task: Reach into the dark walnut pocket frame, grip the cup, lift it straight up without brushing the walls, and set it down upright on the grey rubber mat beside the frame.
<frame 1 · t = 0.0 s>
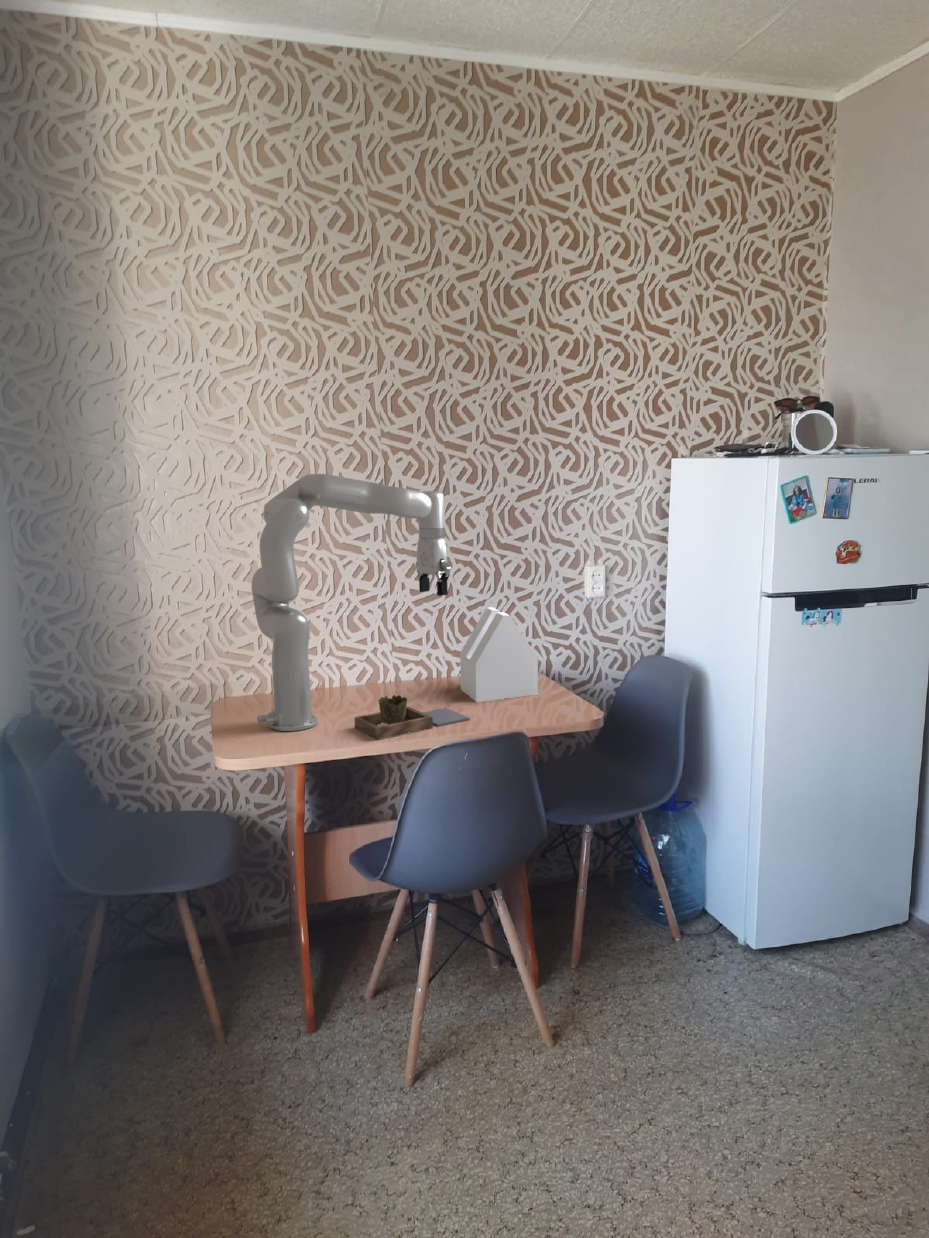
hand: (433, 593, 245), 31 cm above the table, tool pointing down, fingers open, 9 cm apart
grey slotted house block: (498, 693, 255), on the table
pocket frame: (393, 728, 222), on the table
mat: (441, 717, 230), on the table
cup: (393, 728, 222), resting in pocket frame
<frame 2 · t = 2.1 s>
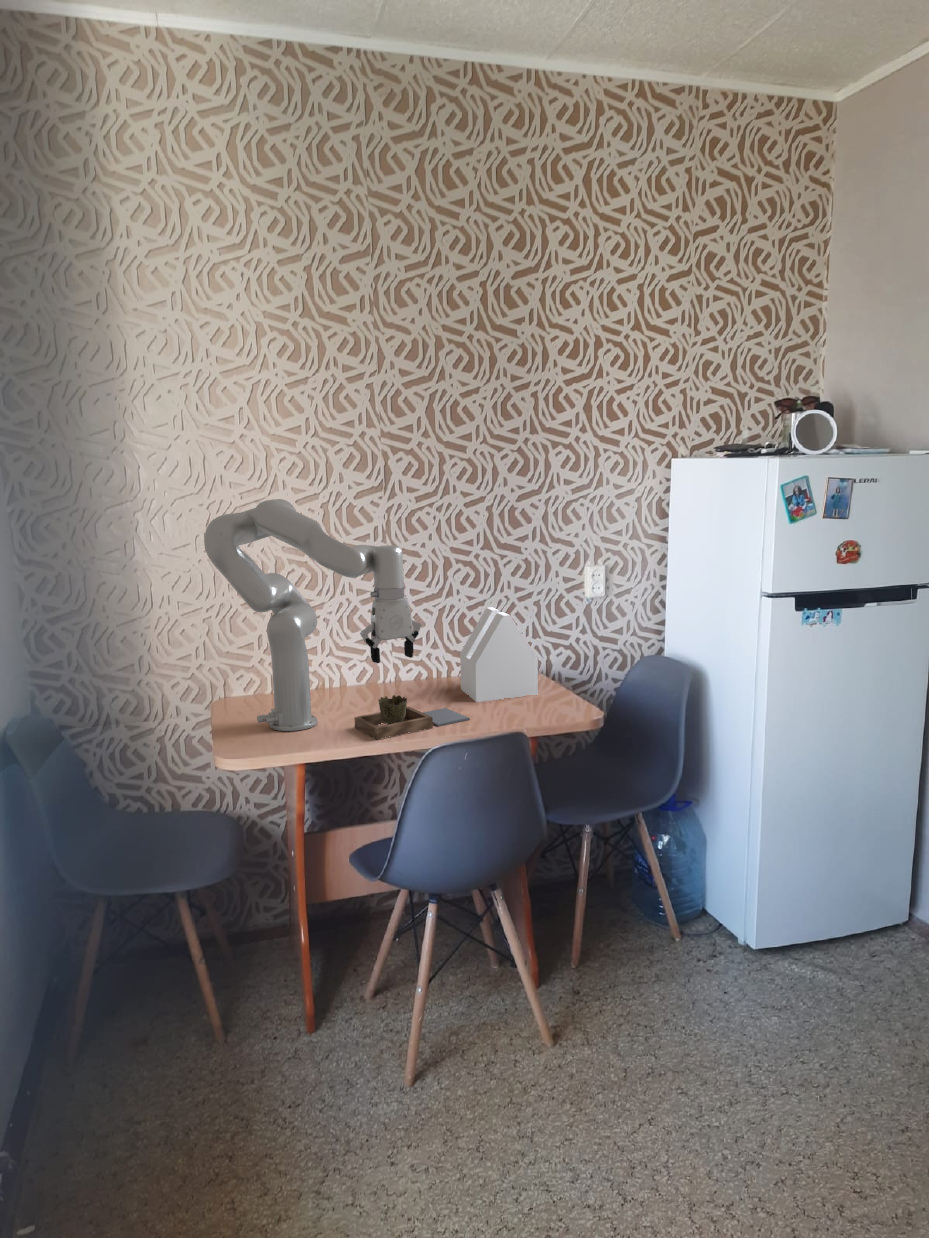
hand: (392, 659, 218), 18 cm above the table, tool pointing down, fingers open, 9 cm apart
nothing on the table moved.
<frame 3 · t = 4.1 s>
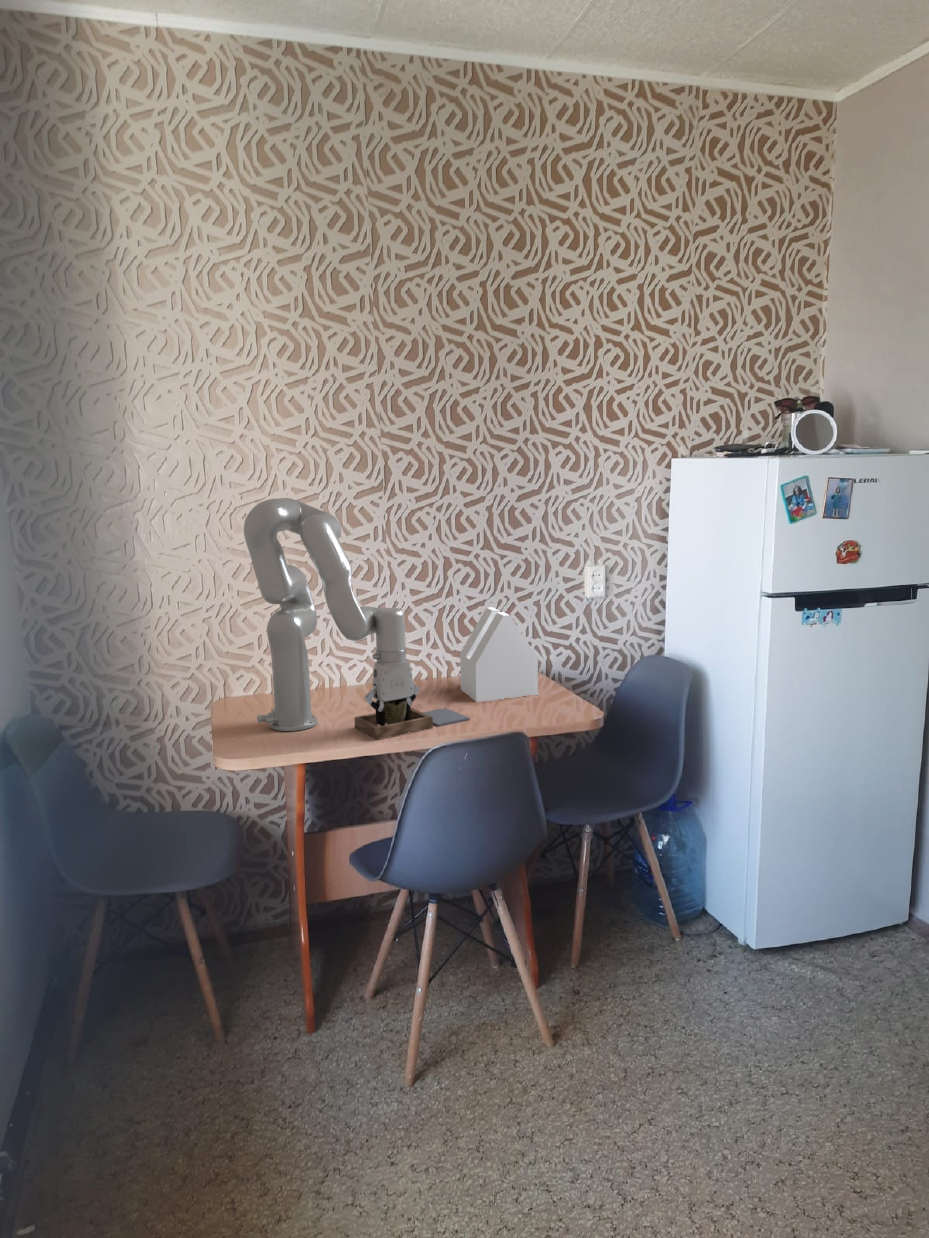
hand: (393, 721, 221), 2 cm above the table, tool pointing down, fingers open, 6 cm apart
cup: (393, 728, 222), resting in pocket frame, touching gripper
everything else where it was.
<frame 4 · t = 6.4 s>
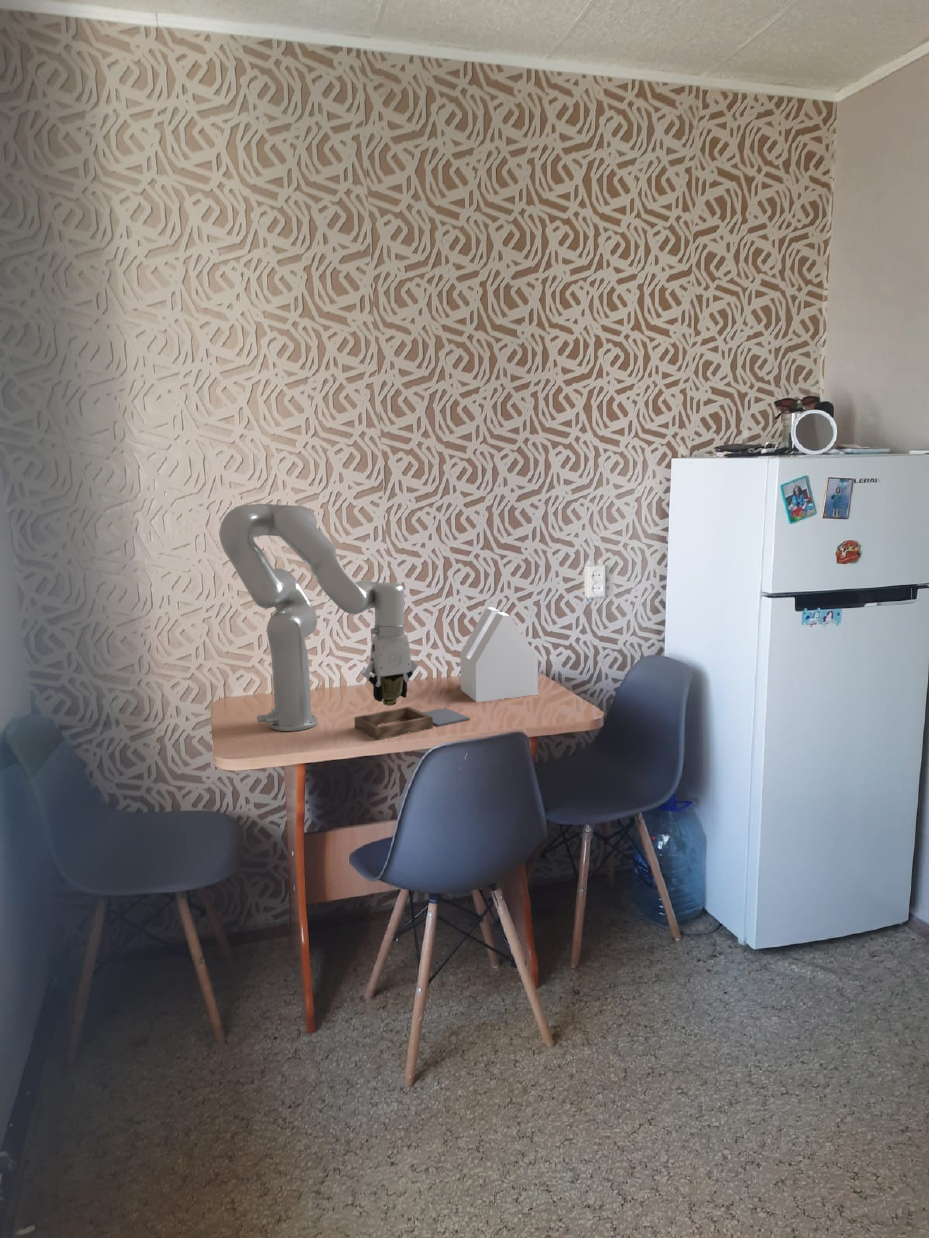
hand: (390, 697, 220), 8 cm above the table, tool pointing down, fingers closed on cup, 6 cm apart
cup: (389, 704, 221), point 6 cm above the table, touching gripper
everything else where it was.
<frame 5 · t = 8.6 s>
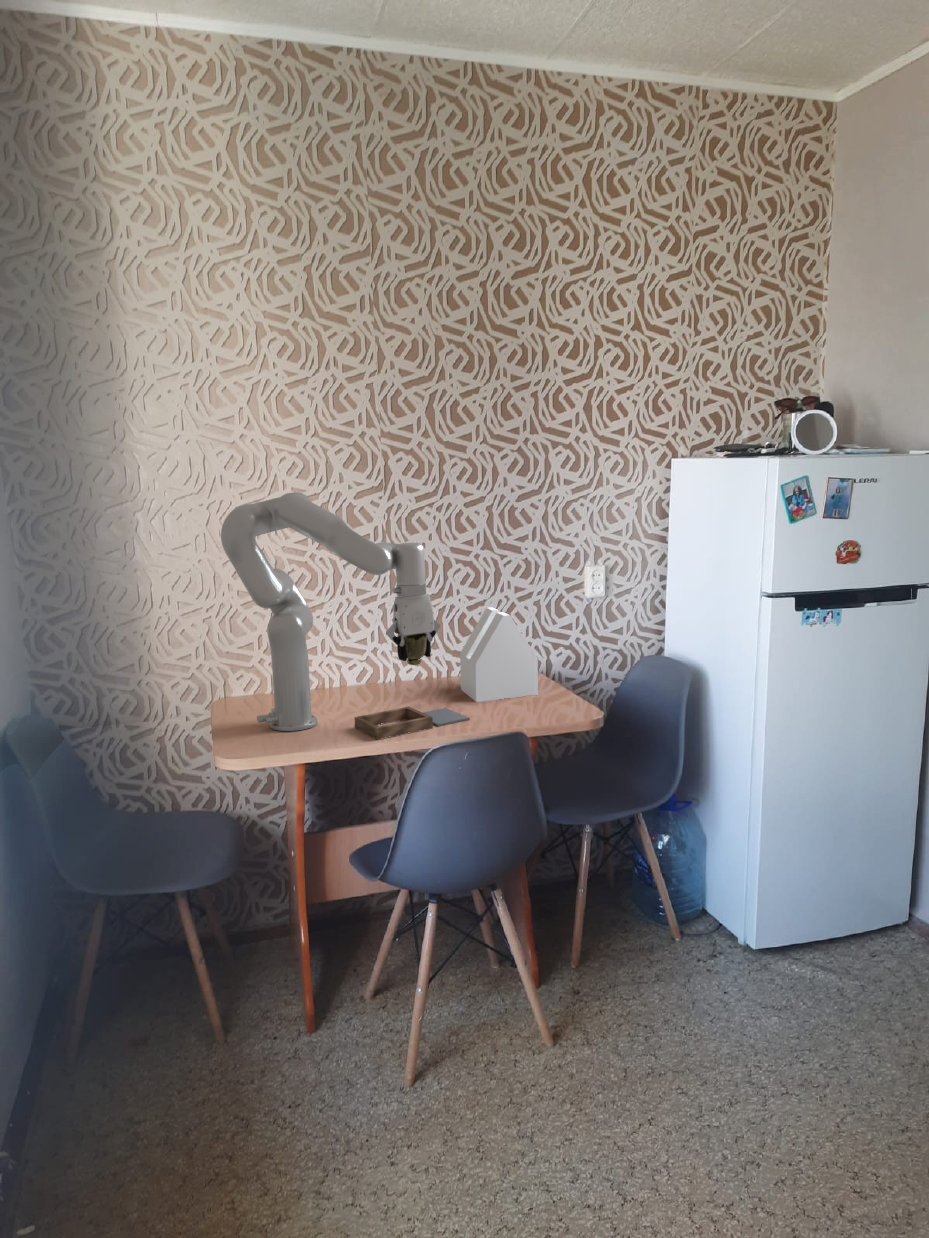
hand: (414, 657, 222), 18 cm above the table, tool pointing down, fingers closed on cup, 6 cm apart
cup: (414, 664, 222), point 16 cm above the table, touching gripper
everything else where it was.
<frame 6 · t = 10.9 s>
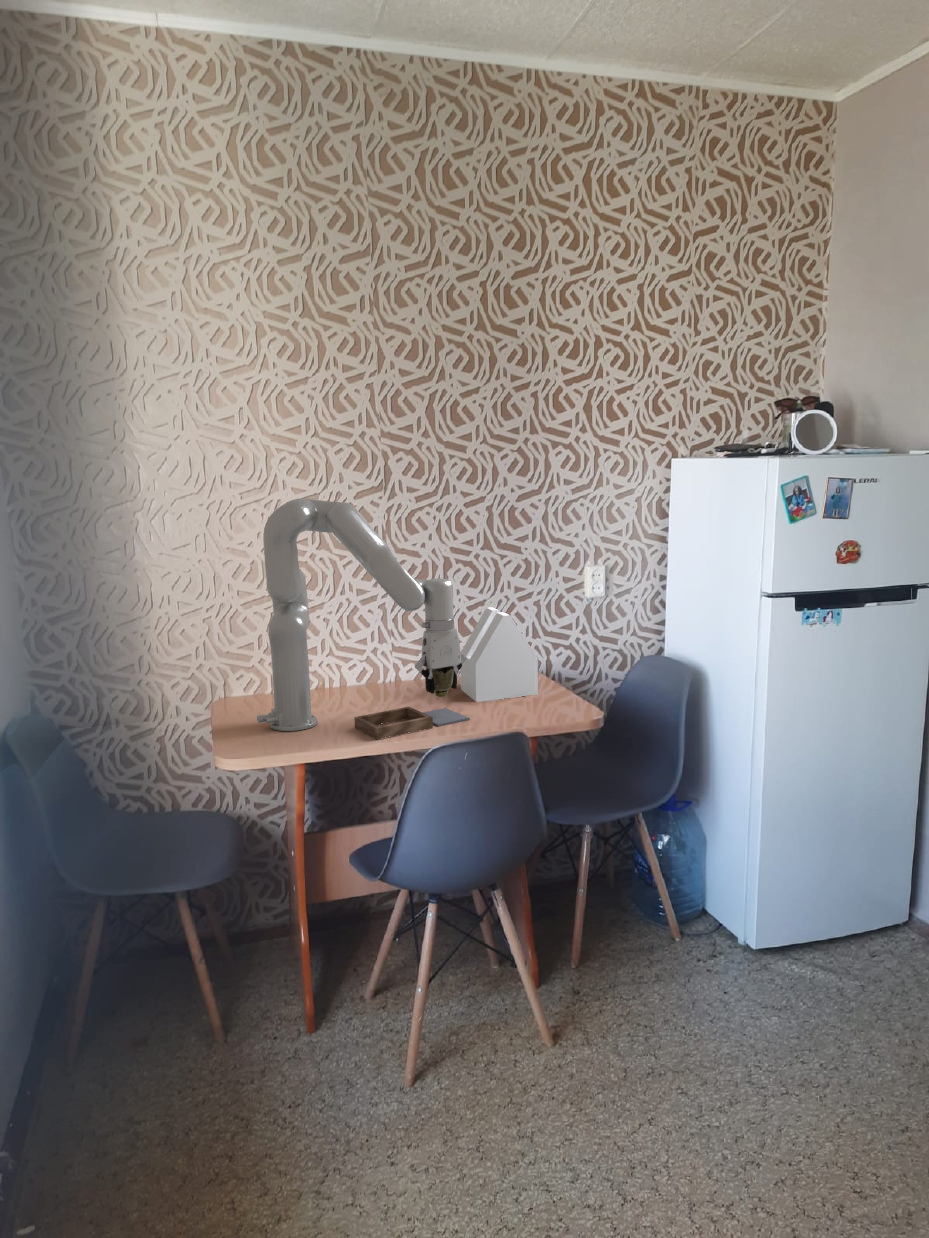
hand: (441, 689, 228), 8 cm above the table, tool pointing down, fingers closed on cup, 6 cm apart
cup: (441, 696, 229), point 6 cm above the table, touching gripper
everything else where it was.
when the fingers open (4 cm above the table, at t = 12.8 s): cup stays where it is, resting on mat.
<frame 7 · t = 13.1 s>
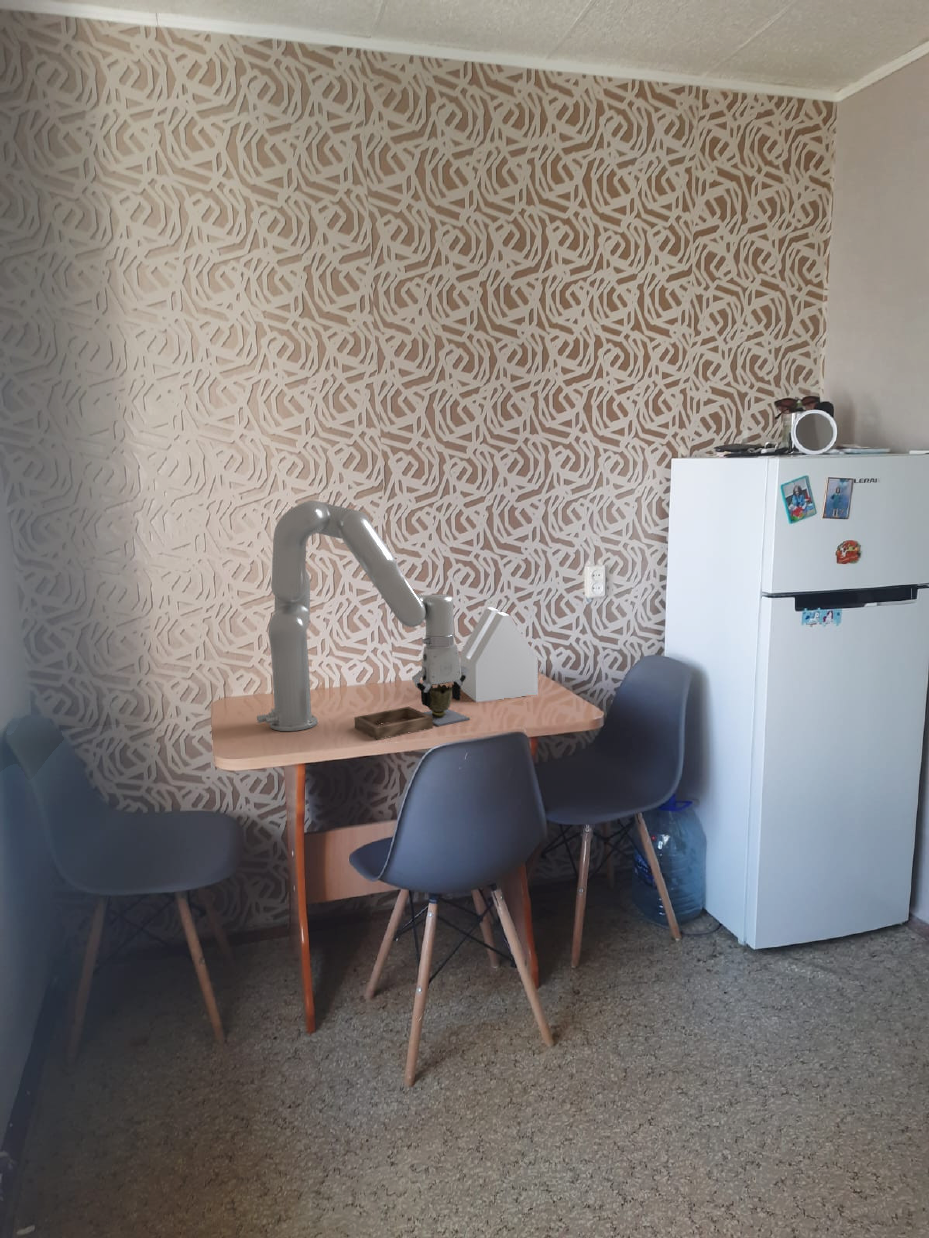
hand: (441, 702, 229), 4 cm above the table, tool pointing down, fingers open, 9 cm apart
cup: (438, 716, 229), resting on mat, touching gripper
everything else where it was.
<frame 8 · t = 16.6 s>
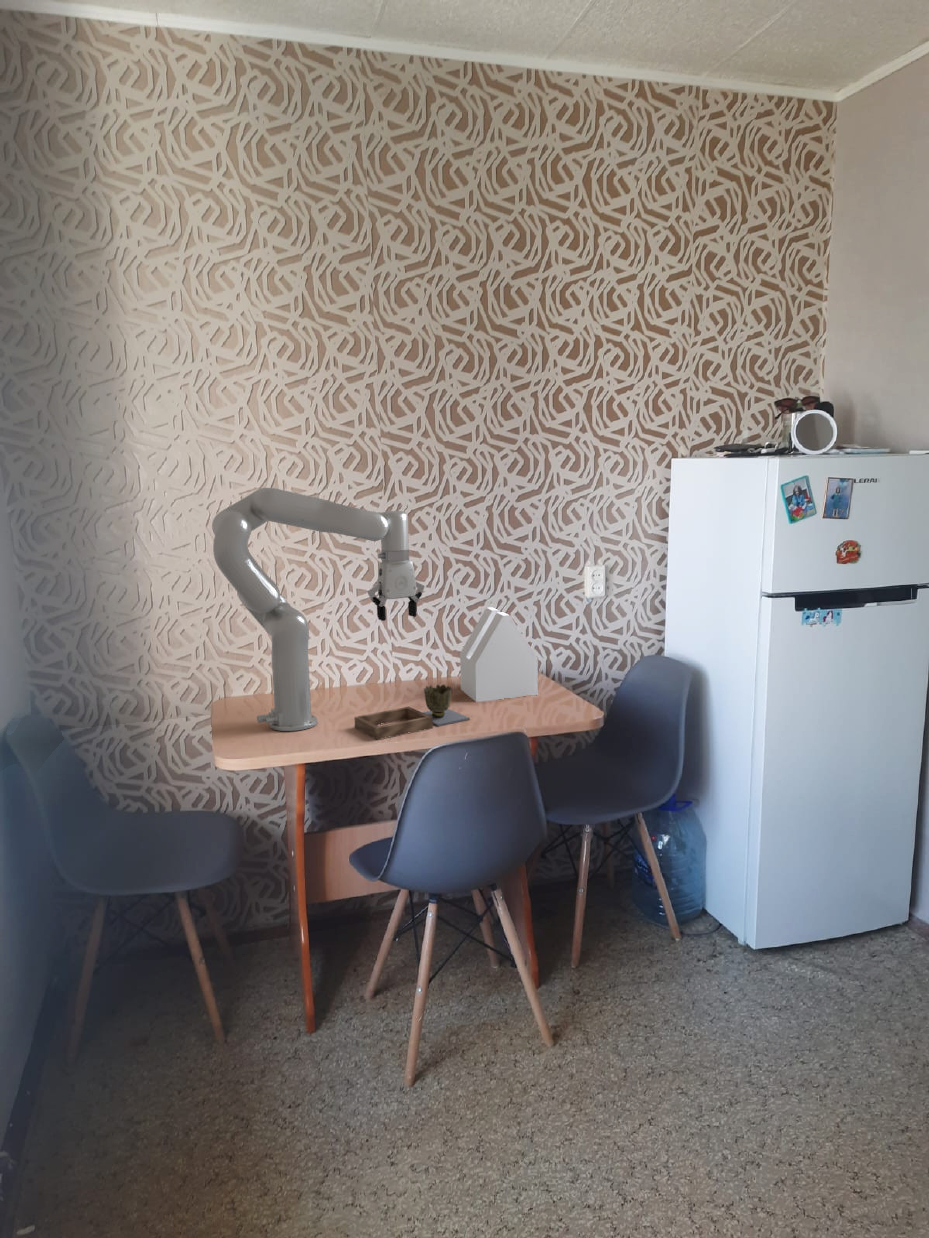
hand: (397, 618, 234), 26 cm above the table, tool pointing down, fingers open, 9 cm apart
cup: (438, 717, 229), resting on mat
everything else where it was.
at the end: cup inside the target area on the mat (1.1 cm from its centre), point 0.4 cm above the mat's base; cup tilted 0°; the gripper is holding nothing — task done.
